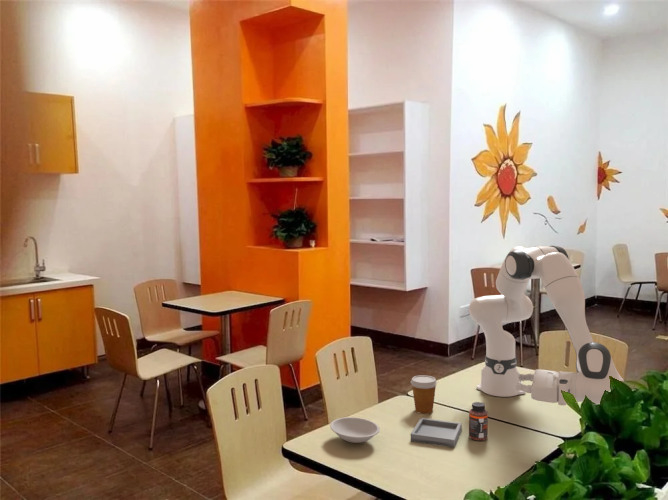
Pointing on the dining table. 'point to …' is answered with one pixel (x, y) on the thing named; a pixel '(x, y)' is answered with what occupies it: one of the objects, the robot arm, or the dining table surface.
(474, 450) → the dining table surface
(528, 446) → the dining table surface
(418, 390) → the disposable coffee cup
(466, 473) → the dining table surface
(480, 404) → the supplement bottle
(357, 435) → the dish
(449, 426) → the tray
